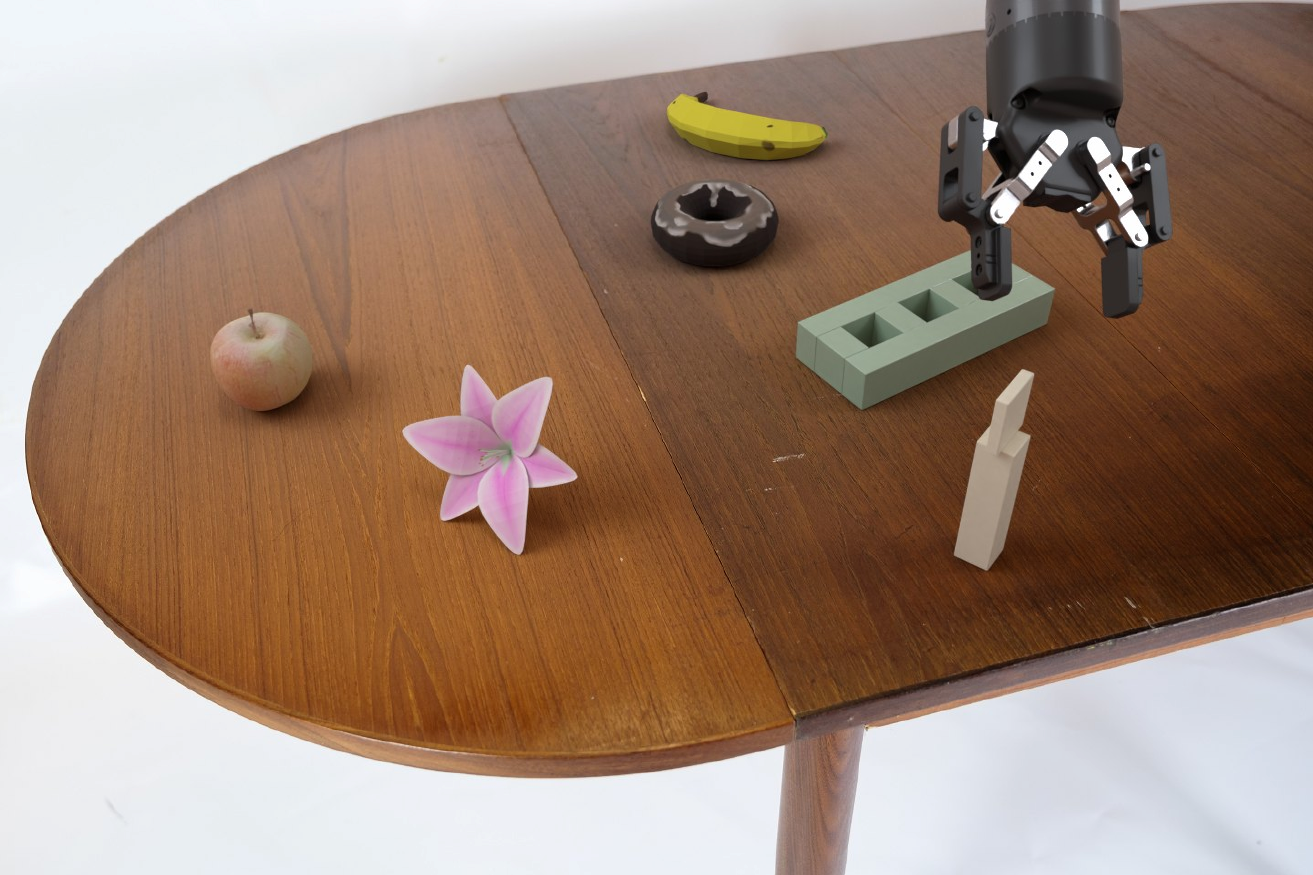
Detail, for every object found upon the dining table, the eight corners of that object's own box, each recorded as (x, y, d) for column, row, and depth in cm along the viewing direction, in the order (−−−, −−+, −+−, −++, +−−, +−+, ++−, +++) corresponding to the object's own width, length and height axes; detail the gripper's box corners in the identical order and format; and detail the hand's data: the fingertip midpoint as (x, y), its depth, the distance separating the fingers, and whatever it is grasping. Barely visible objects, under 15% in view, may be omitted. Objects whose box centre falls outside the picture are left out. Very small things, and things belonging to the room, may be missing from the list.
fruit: (240, 369, 92) (212, 286, 87) (330, 367, 92) (307, 284, 87) (212, 429, 87) (180, 345, 81) (307, 427, 86) (281, 342, 81)
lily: (409, 475, 83) (358, 431, 74) (531, 372, 85) (495, 317, 76) (506, 594, 79) (465, 562, 70) (633, 484, 81) (608, 439, 72)
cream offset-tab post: (1007, 544, 75) (1048, 377, 66) (983, 577, 73) (1022, 409, 64) (973, 529, 76) (1009, 363, 67) (949, 561, 74) (982, 394, 65)
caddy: (1047, 324, 93) (1055, 288, 91) (861, 411, 86) (865, 374, 83) (976, 279, 99) (982, 244, 96) (795, 357, 91) (797, 321, 89)
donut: (802, 250, 103) (805, 211, 101) (692, 288, 99) (692, 249, 96) (734, 197, 111) (734, 160, 108) (628, 230, 107) (626, 193, 104)
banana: (828, 128, 112) (834, 88, 125) (656, 110, 114) (679, 72, 127) (821, 173, 115) (828, 129, 127) (653, 154, 116) (676, 112, 129)
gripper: (986, -18, 61) (992, 273, 58) (1197, 33, 65) (1211, 304, 63) (912, 47, 68) (914, 309, 65) (1107, 89, 72) (1116, 335, 70)
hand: (1059, 306), depth 64 cm, fingers open, 8 cm apart
